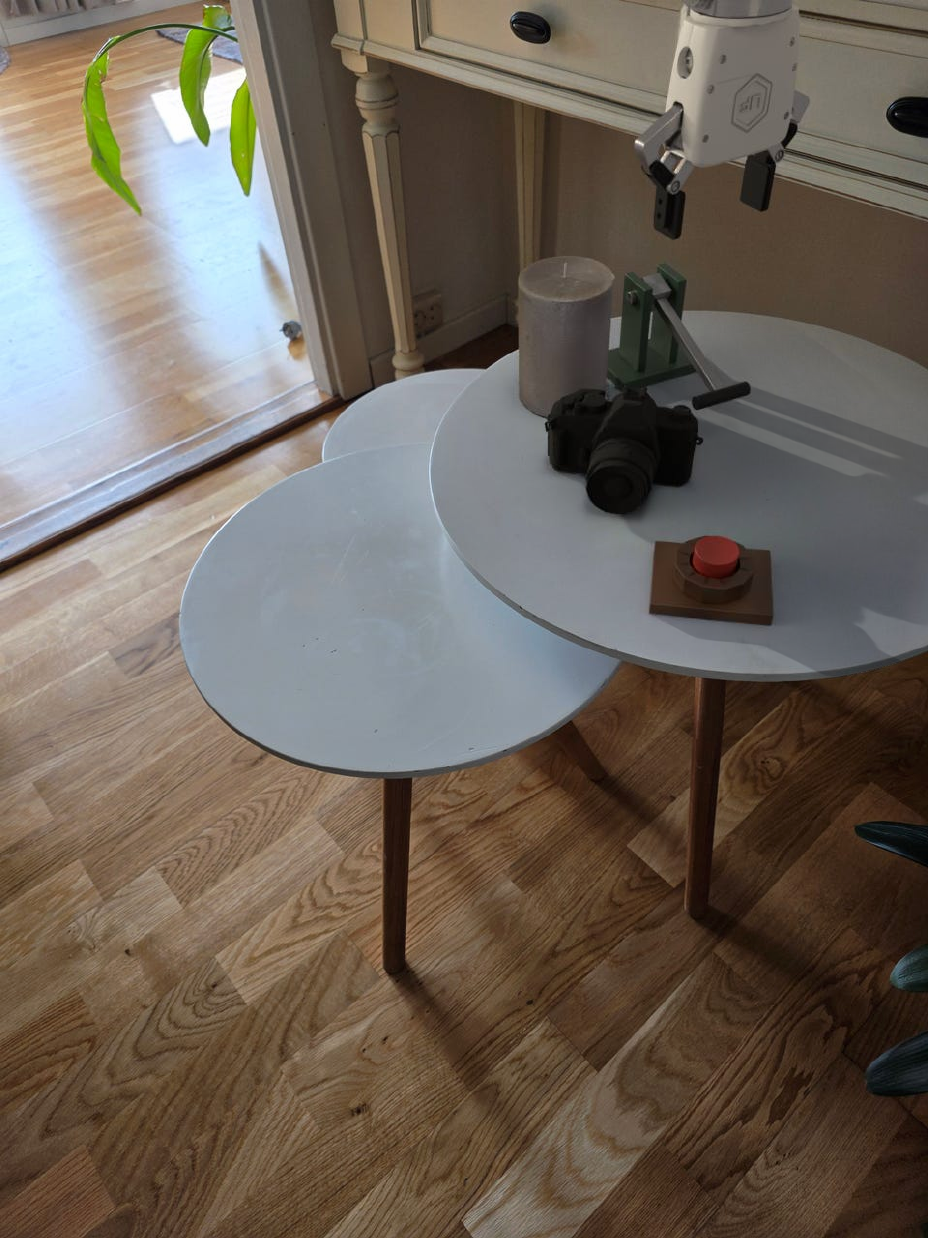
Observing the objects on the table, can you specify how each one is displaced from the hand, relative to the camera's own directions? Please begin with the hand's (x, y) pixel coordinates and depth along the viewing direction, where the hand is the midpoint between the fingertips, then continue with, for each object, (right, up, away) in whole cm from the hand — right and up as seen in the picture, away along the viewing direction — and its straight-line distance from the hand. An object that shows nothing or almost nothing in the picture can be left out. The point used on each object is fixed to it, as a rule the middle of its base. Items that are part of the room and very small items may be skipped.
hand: (710, 219), depth 78 cm
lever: (+1, -7, +13) cm, 15 cm away
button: (-1, -31, -4) cm, 32 cm away
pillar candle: (-11, -11, +19) cm, 25 cm away
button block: (-1, -33, -2) cm, 33 cm away
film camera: (-7, -23, +8) cm, 25 cm away
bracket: (-1, -7, +22) cm, 23 cm away
